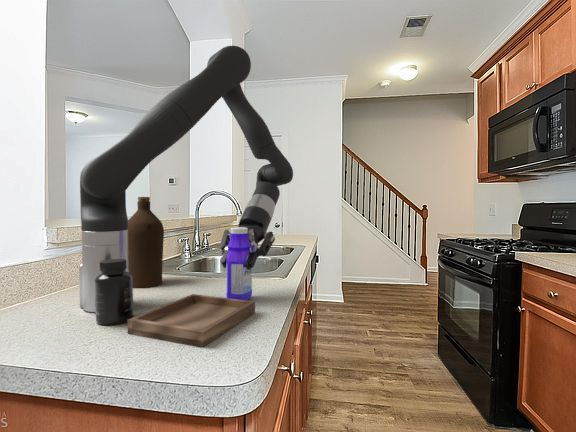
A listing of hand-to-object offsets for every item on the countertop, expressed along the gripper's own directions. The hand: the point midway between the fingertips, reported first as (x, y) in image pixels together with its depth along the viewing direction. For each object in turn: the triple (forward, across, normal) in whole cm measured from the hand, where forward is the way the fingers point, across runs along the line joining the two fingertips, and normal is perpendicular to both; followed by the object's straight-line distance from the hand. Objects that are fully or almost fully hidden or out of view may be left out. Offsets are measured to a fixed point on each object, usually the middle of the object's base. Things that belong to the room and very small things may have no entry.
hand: (235, 266), depth 83 cm
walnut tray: (+17, 0, -5) cm, 18 cm away
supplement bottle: (+21, -16, -8) cm, 27 cm away
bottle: (+5, 0, +7) cm, 9 cm away
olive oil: (+2, -33, +10) cm, 35 cm away
